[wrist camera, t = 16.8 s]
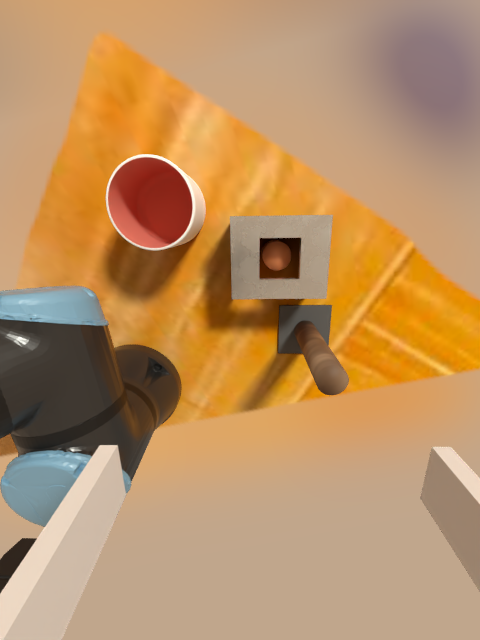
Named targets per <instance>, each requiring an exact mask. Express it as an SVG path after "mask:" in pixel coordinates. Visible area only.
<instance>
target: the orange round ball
mask: <svg viewBox="0 0 480 640" xmlns="http://www.w3.org/2000/svg"><path fill="white" fill-rule="evenodd" d="M261 255H262V259H263V261H264V263H265V265H266V266H267V267H268V268H270V269H272V270H282V269H284V268H285V267H287V266H288V264H289V263H290V260H291V250H290V248H289V247H288V246H287V245H286V244H285V243H283V242H281V241H278V240H271V241H269V242H267V243H266V244H265V245H264V246H263V248H262V252H261Z"/></svg>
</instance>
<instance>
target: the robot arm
mask: <svg viewBox="0 0 480 640" xmlns="http://www.w3.org/2000/svg"><path fill="white" fill-rule="evenodd" d="M108 325H109V323H108V321H107V320H105V317H104V314H103V312H102V309H101V306H100V303H99V300H98V298H97V296H96V294H95V293H94V292H93V291H91V290H90V289H88V288H86V287H82V286H55V287H40V288H28V289H17V290H6V291H0V438H2V437H4V436H6V435H8V434H11V436H12V438H13V441H14V443H15V445H16V448H17V450H18V453H19V454H18V457H16V458H15V459H14V460H12V461H11V462H10V463H9V464H8V466H7V469H6V471H5V474H4V476H3V477H2V479H1V484H0V487H1V493H2V496H3V498H4V500H5V501H6V503H7V504H8V505H9V507H10V508H11V509H12V510H14V511H15V512H16V513H17V514H18V515H20V516H21V517H23V518H25V519H26V520H28V521H30V522H32V523H35V524H38V525H41V526H43V527H45V528H44V529H43V531H42V532H41V534H40V535H39V537H38V538H37V539H30V538H29V539H28V538H26V539H25V538H22V539H21V540H20V541H19V542H18V543H17V544H15V545H14V546H13V547H12V548H11V549H10V550H9V551H8V552H7V553H6V554H4V555H3V557H2V558H1V560H0V640H61V639H62V637H63V635H64V633H65V630H66V628H67V626H68V624H69V622H70V619H71V617H72V615H73V613H74V611H75V608H76V606H77V604H78V602H79V599H80V597H81V595H82V593H83V590H84V588H85V586H86V584H87V582H88V579H89V577H90V575H91V572H92V570H93V568H94V566H95V564H96V561H97V559H98V557H99V555H100V552H101V550H102V548H103V546H104V543H105V541H106V539H107V537H108V534H109V532H110V530H111V528H112V526H113V523H114V521H115V519H116V517H117V515H118V512H119V510H120V508H121V505H122V503H123V501H124V499H125V497H126V493H127V492H128V491H129V490H130V487H131V481H132V479H133V477H134V475H135V473H136V470H137V468H138V466H139V463H140V461H141V459H142V457H143V454H144V452H145V450H146V448H147V446H148V443H149V441H150V439H151V437H152V434H153V432H154V430H155V429H157V428H158V427H159V426H160V425H161V424H162V423H164V422H165V421H166V420H167V419H168V418H169V417H170V416H171V415H172V414H173V412H174V411H175V409H176V406H177V404H178V401H179V399H180V395H181V381H180V377H179V374H178V372H177V370H176V368H175V367H174V365H173V364H172V363H171V362H170V360H169V359H167V358H166V357H165V356H164V355H163V354H161V353H160V352H158V351H156V350H154V349H152V348H149V347H146V346H142V345H123V346H119V347H116V348H114V346H113V343H112V339H111V336H110V332H109V329H108ZM421 500H422V501H423V503H424V505H425V506H426V508H427V509H428V511H429V513H430V514H431V516H432V517H433V519H434V520H435V522H436V524H437V525H438V526H439V528H440V530H441V532H442V533H443V535H444V536H445V538H446V539H447V541H448V542H449V544H450V545H451V547H452V549H453V550H454V552H455V553H456V555H457V557H458V558H459V560H460V561H461V563H462V565H463V566H464V568H465V569H466V571H467V572H468V574H469V576H470V577H471V579H472V580H473V582H474V583H475V585H476V587H477V588H478V590H479V591H480V478H479V477H478V476H477V475H476V474H475V473H474V472H473V471H472V470H471V468H470V467H468V465H467V464H466V463H465V462H464V461H463V460H462V459H461V458H460V457H459V455H457V453H456V452H455V451H454V450H453V449H452V448H451V447H432V449H431V454H430V458H429V462H428V467H427V471H426V475H425V480H424V484H423V489H422V493H421Z"/></svg>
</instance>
